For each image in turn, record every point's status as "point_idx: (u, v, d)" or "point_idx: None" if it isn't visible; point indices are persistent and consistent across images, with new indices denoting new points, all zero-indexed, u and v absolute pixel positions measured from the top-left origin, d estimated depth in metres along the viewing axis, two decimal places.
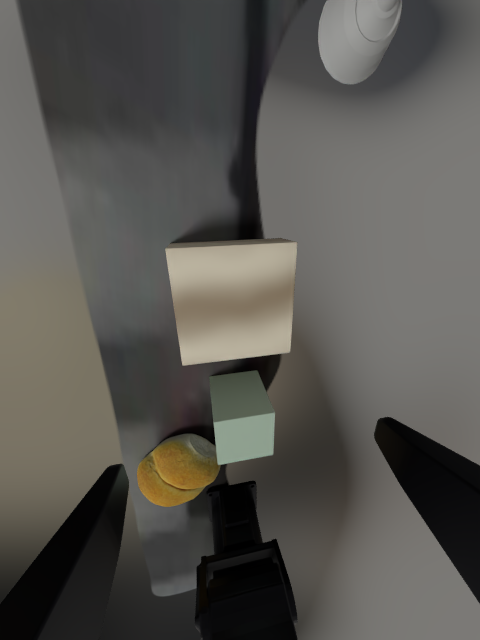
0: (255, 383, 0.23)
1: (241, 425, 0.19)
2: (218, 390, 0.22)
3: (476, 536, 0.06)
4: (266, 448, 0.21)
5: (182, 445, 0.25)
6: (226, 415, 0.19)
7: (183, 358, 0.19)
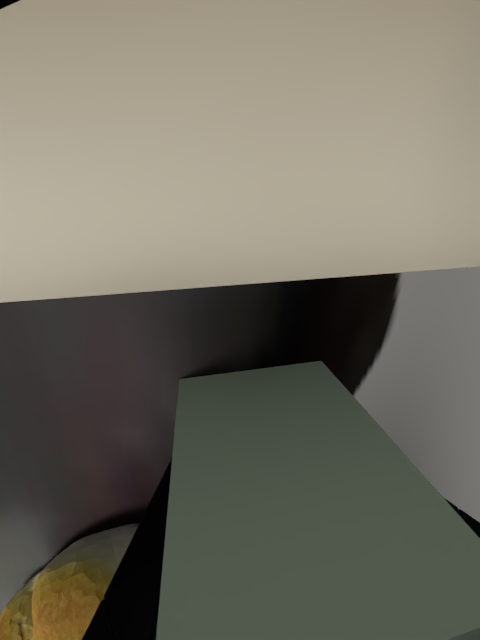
0: (335, 403, 0.07)
1: None
2: (205, 434, 0.06)
3: None
4: None
5: (107, 577, 0.09)
6: (244, 634, 0.03)
7: None
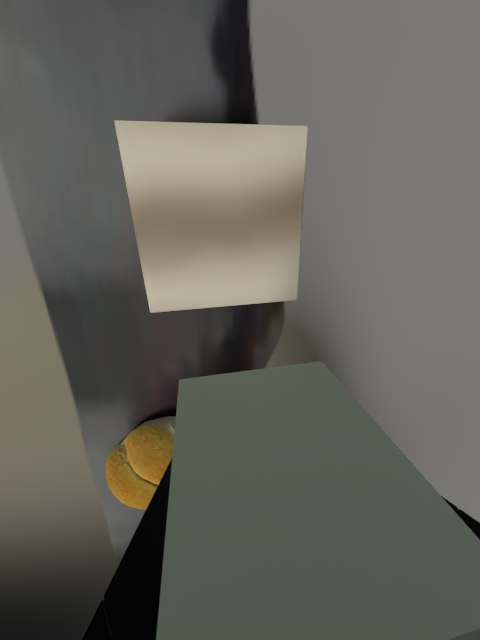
0: (334, 403, 0.07)
1: None
2: (205, 434, 0.06)
3: None
4: None
5: (161, 429, 0.19)
6: (243, 636, 0.03)
7: (151, 302, 0.14)
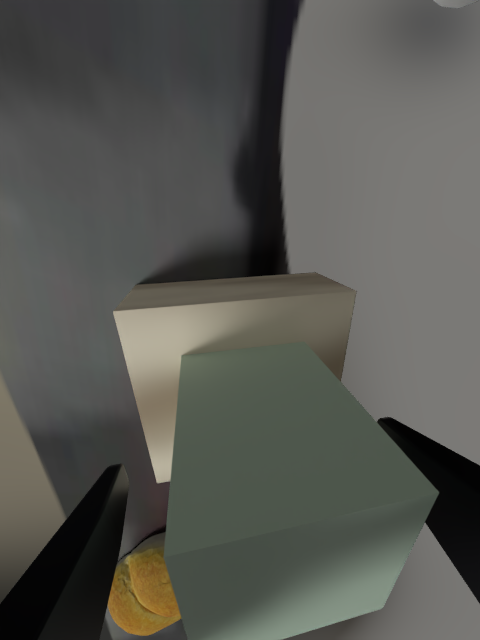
0: (312, 372, 0.08)
1: (295, 549, 0.04)
2: (203, 394, 0.07)
3: (476, 536, 0.06)
4: (367, 598, 0.06)
5: None
6: (229, 508, 0.04)
7: (158, 474, 0.11)
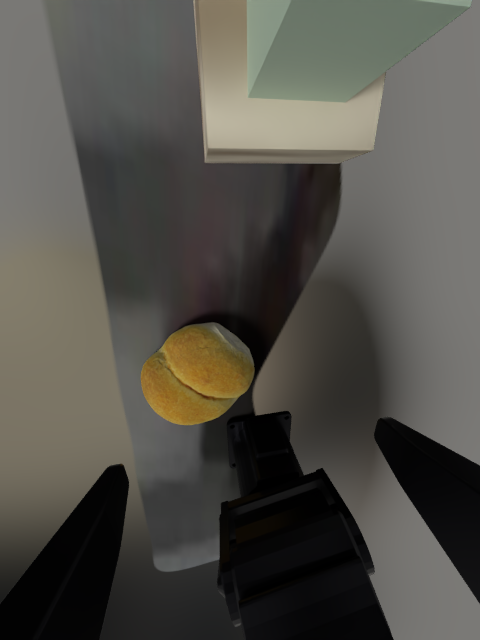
0: None
1: None
2: None
3: (476, 536, 0.06)
4: None
5: (205, 329, 0.17)
6: None
7: (210, 132, 0.12)
